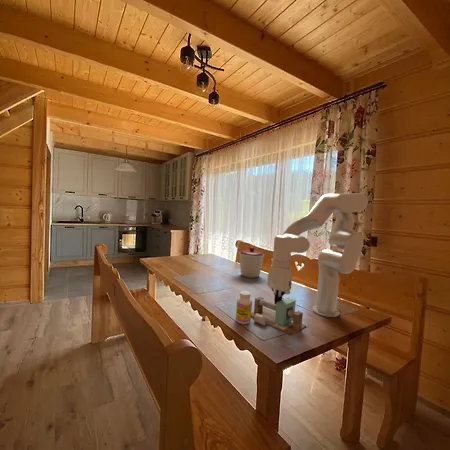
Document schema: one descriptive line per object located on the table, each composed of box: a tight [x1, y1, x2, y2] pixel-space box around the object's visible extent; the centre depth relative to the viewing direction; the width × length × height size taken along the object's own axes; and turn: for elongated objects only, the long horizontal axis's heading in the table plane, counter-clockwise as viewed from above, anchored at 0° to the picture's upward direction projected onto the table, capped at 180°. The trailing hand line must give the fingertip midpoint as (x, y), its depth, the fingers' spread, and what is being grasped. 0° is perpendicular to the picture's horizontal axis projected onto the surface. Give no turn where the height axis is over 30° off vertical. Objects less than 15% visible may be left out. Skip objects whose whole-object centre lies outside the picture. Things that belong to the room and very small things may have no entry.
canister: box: [238, 246, 265, 279], centre depth 185 cm, size 18×18×21 cm
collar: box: [275, 297, 297, 326], centre depth 112 cm, size 9×4×9 cm, turn 135°
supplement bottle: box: [235, 290, 253, 325], centre depth 113 cm, size 7×7×13 cm
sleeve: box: [253, 313, 268, 327], centre depth 113 cm, size 4×5×4 cm
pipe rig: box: [251, 296, 307, 336], centre depth 116 cm, size 12×23×8 cm, turn 45°
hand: (277, 303), depth 115 cm, fingers closed
